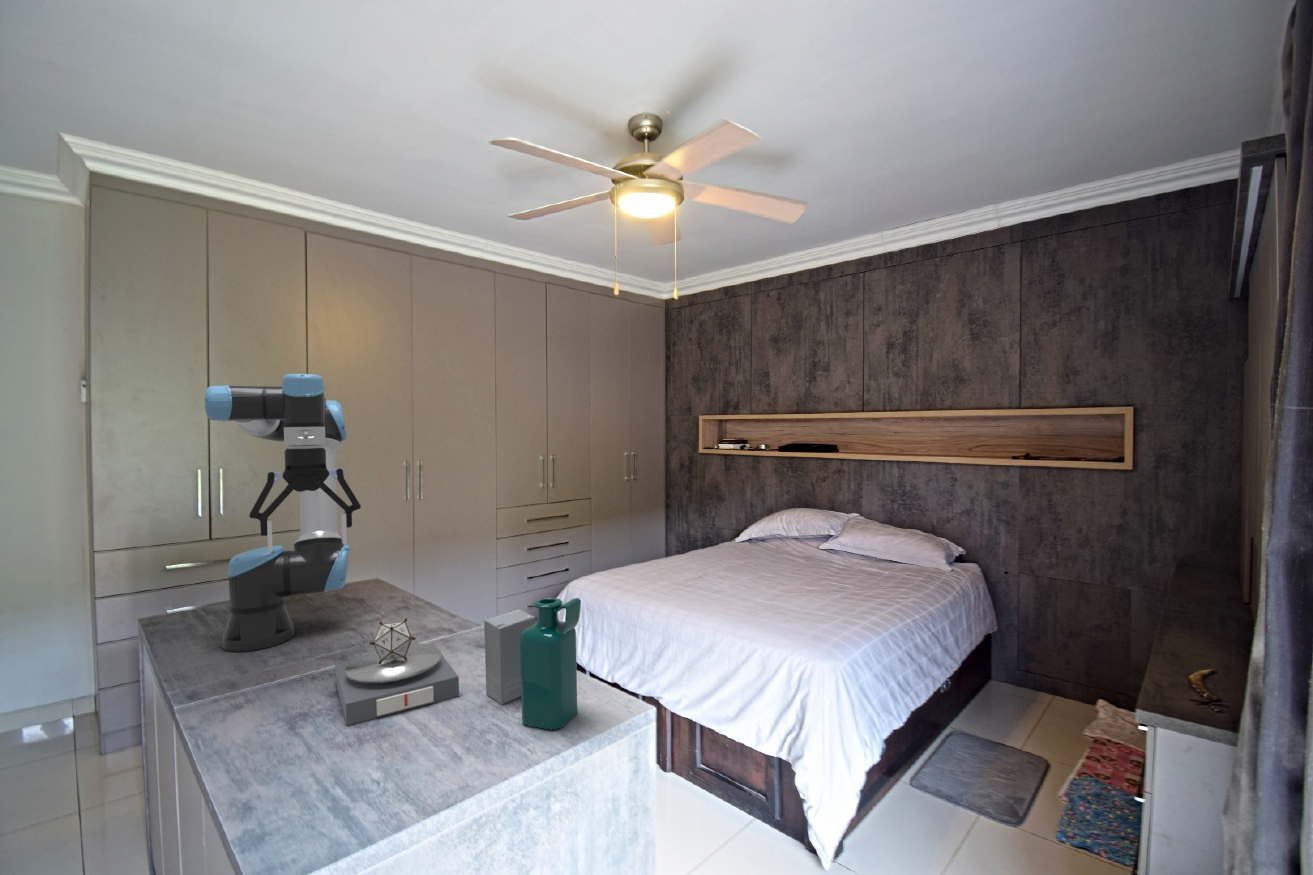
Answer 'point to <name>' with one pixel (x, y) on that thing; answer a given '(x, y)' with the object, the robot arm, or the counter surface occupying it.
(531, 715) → the pitcher
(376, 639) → the game die
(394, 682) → the scale
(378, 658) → the pan
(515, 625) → the skincare box
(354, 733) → the counter surface
